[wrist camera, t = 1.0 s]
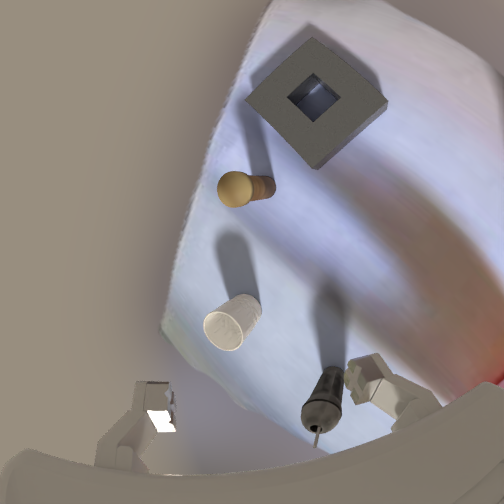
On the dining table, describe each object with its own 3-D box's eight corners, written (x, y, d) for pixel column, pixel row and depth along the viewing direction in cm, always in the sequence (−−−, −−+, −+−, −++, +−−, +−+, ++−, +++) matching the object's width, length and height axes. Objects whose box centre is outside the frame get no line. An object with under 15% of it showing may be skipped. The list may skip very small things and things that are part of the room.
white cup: (272, 307, 52) (250, 331, 44) (253, 332, 56) (230, 358, 47) (239, 283, 54) (213, 302, 45) (223, 309, 57) (197, 331, 49)
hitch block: (318, 49, 37) (312, 37, 32) (386, 109, 36) (388, 101, 31) (256, 106, 44) (244, 99, 40) (317, 170, 43) (311, 168, 38)
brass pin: (265, 167, 46) (233, 163, 36) (284, 188, 46) (256, 190, 35) (246, 186, 49) (211, 188, 38) (264, 207, 48) (232, 215, 38)
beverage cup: (309, 369, 52) (276, 440, 35) (338, 355, 49) (314, 430, 31) (328, 392, 52) (303, 463, 34) (357, 379, 48) (340, 455, 31)
